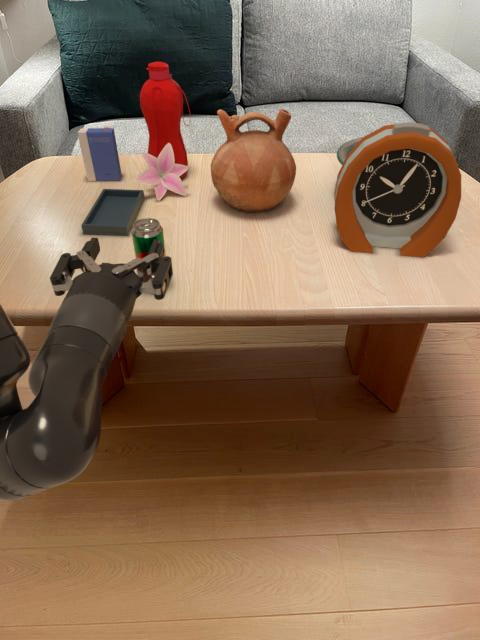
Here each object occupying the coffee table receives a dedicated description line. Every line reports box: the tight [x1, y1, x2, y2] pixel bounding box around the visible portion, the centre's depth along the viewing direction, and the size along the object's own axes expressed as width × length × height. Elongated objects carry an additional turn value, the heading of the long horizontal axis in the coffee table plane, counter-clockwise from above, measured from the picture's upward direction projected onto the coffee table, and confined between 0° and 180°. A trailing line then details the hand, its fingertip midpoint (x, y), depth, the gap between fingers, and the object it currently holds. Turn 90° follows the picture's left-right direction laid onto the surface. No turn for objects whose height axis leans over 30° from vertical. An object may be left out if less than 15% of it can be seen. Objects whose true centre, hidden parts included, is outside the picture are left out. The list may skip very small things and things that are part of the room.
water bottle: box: [139, 61, 192, 180], centre depth 108 cm, size 9×11×25 cm
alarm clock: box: [333, 121, 462, 258], centre depth 87 cm, size 22×10×23 cm, turn 82°
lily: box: [134, 143, 189, 202], centre depth 107 cm, size 12×12×10 cm
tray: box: [80, 188, 145, 237], centre depth 100 cm, size 16×9×2 cm, turn 177°
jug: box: [210, 108, 297, 214], centre depth 100 cm, size 18×18×20 cm
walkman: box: [76, 126, 122, 182], centre depth 111 cm, size 8×3×12 cm, turn 92°
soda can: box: [130, 217, 167, 279], centre depth 79 cm, size 5×5×12 cm
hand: (126, 244), depth 64 cm, fingers open, 8 cm apart
